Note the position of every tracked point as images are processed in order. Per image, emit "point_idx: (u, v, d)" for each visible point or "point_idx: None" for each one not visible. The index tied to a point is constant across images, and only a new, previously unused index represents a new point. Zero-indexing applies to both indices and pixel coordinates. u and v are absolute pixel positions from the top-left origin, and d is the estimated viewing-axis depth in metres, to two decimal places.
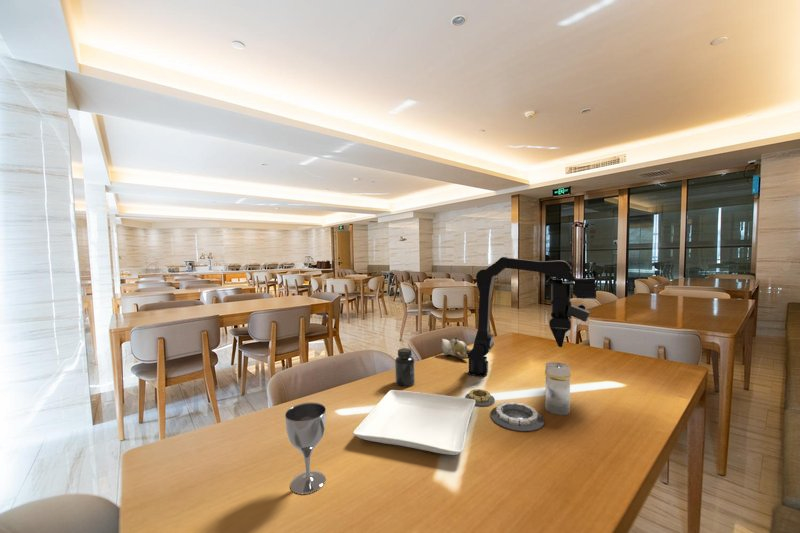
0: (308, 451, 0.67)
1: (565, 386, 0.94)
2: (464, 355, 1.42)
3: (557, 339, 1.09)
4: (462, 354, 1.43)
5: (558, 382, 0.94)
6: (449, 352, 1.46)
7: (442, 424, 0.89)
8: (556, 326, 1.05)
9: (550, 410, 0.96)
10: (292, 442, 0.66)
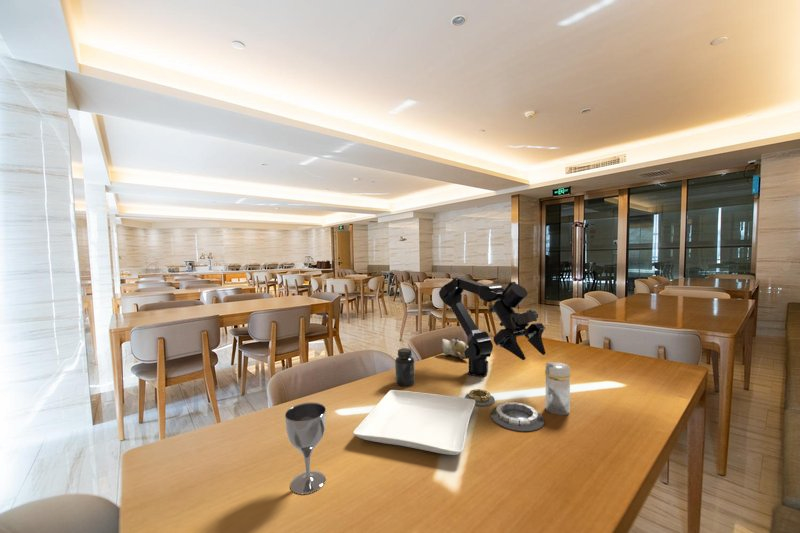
0: (308, 451, 0.67)
1: (565, 386, 0.94)
2: (464, 355, 1.42)
3: (515, 353, 1.03)
4: (462, 354, 1.42)
5: (558, 382, 0.94)
6: (449, 352, 1.46)
7: (442, 424, 0.89)
8: (498, 341, 1.04)
9: (550, 410, 0.96)
10: (292, 442, 0.66)
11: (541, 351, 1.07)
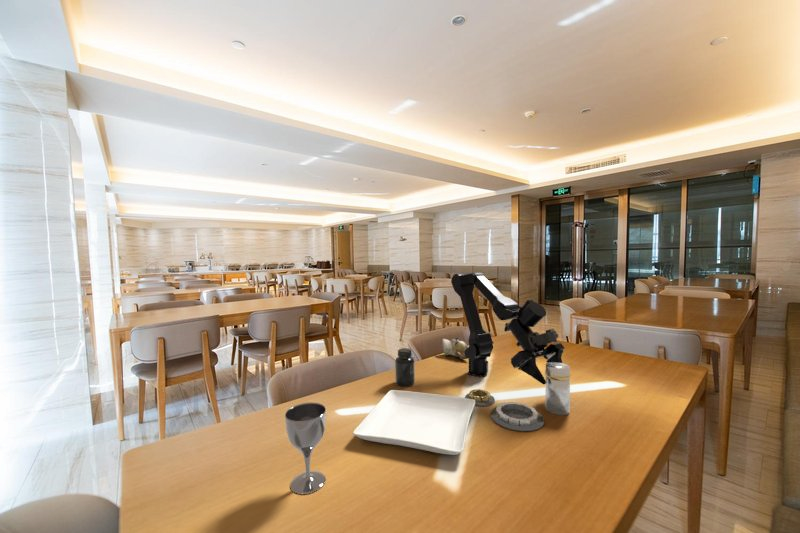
0: (308, 451, 0.67)
1: (565, 386, 0.94)
2: (464, 355, 1.42)
3: (535, 377, 0.97)
4: (462, 354, 1.42)
5: (558, 382, 0.94)
6: (450, 352, 1.46)
7: (442, 424, 0.89)
8: (516, 364, 0.98)
9: (550, 410, 0.96)
10: (292, 442, 0.66)
11: None
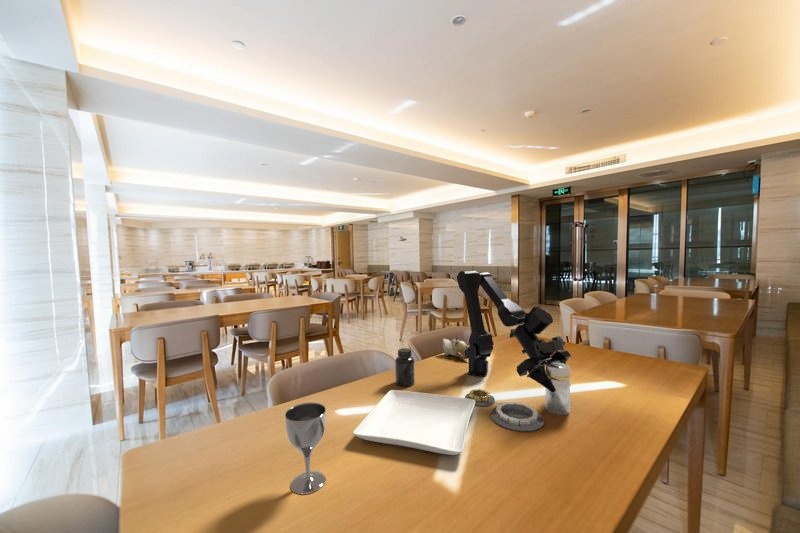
0: (308, 451, 0.67)
1: (565, 386, 0.94)
2: None
3: (544, 384, 0.96)
4: (463, 354, 1.42)
5: (558, 382, 0.94)
6: (450, 352, 1.46)
7: (442, 424, 0.89)
8: (522, 372, 0.97)
9: (550, 410, 0.96)
10: (292, 442, 0.66)
11: None
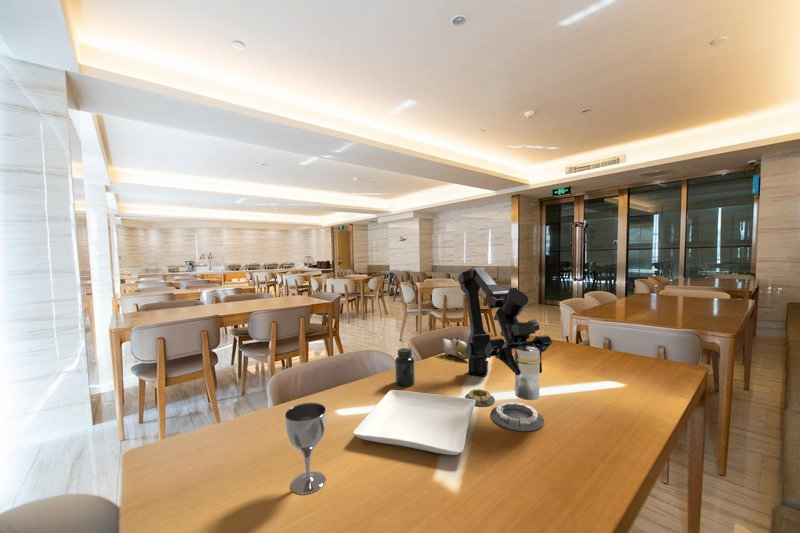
0: (308, 451, 0.67)
1: (530, 370, 0.90)
2: None
3: (510, 367, 0.93)
4: (463, 354, 1.42)
5: (523, 365, 0.90)
6: (450, 352, 1.46)
7: (442, 424, 0.89)
8: (488, 352, 0.96)
9: (516, 394, 0.93)
10: (292, 442, 0.66)
11: None
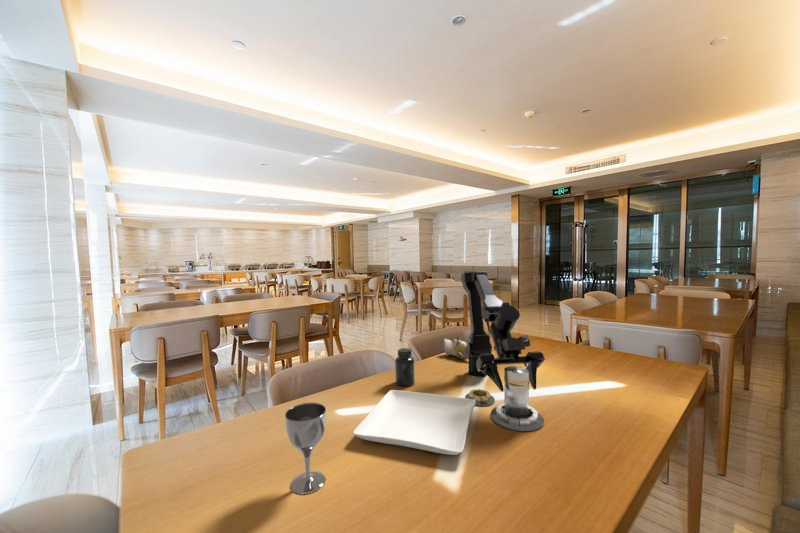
0: (308, 451, 0.67)
1: (518, 392, 0.90)
2: None
3: (495, 382, 0.93)
4: (464, 354, 1.42)
5: (511, 386, 0.91)
6: (451, 352, 1.46)
7: (442, 424, 0.89)
8: (478, 366, 0.96)
9: (505, 414, 0.93)
10: (292, 442, 0.66)
11: (532, 385, 0.93)
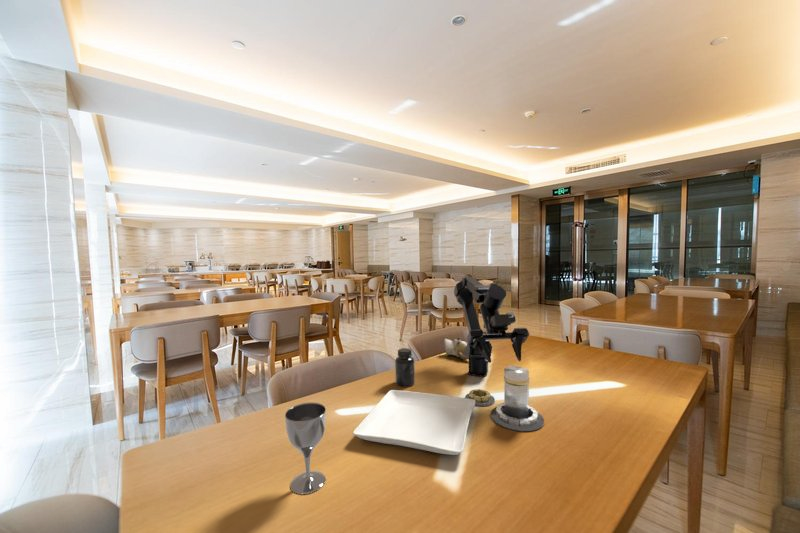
0: (308, 451, 0.67)
1: (518, 392, 0.90)
2: None
3: (484, 355, 1.02)
4: (464, 354, 1.42)
5: (511, 386, 0.91)
6: (451, 352, 1.46)
7: (442, 424, 0.89)
8: (468, 341, 1.06)
9: (505, 414, 0.93)
10: (292, 442, 0.66)
11: (517, 357, 1.02)
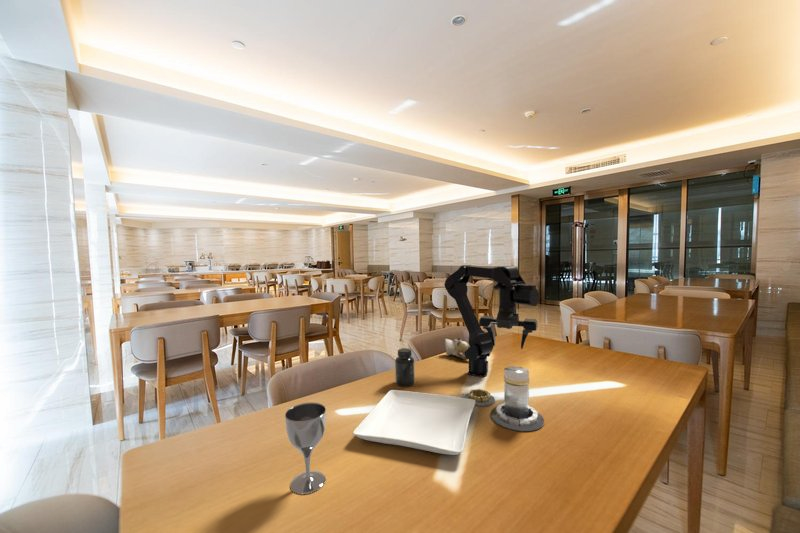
0: (308, 451, 0.67)
1: (518, 392, 0.90)
2: None
3: None
4: None
5: (511, 386, 0.91)
6: (452, 352, 1.46)
7: (442, 424, 0.89)
8: None
9: (505, 414, 0.93)
10: (292, 442, 0.66)
11: (521, 345, 1.14)
